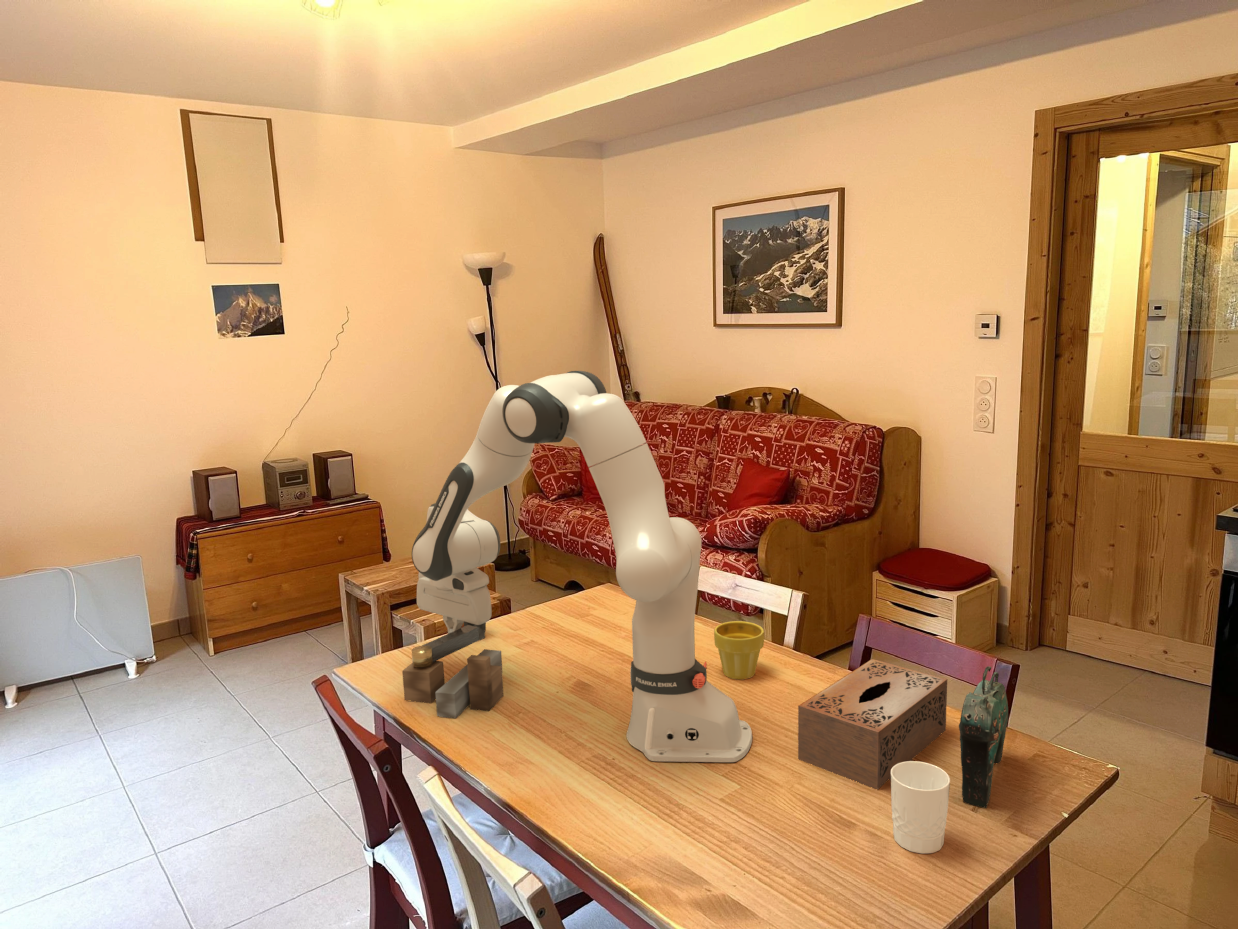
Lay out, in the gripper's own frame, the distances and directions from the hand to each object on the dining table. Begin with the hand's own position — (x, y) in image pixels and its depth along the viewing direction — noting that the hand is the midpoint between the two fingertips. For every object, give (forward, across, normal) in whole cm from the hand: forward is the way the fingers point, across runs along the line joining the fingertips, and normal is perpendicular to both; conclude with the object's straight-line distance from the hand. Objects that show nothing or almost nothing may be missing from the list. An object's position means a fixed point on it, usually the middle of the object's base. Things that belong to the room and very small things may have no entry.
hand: (454, 635), depth 183 cm
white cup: (+8, +101, -4) cm, 102 cm away
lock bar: (+1, +3, -5) cm, 6 cm away
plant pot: (+8, +52, +32) cm, 62 cm away
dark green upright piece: (+8, +104, +17) cm, 106 cm away
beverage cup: (+9, -12, +17) cm, 22 cm away
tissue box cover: (+9, +86, +19) cm, 89 cm away
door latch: (+8, +8, -7) cm, 14 cm away
